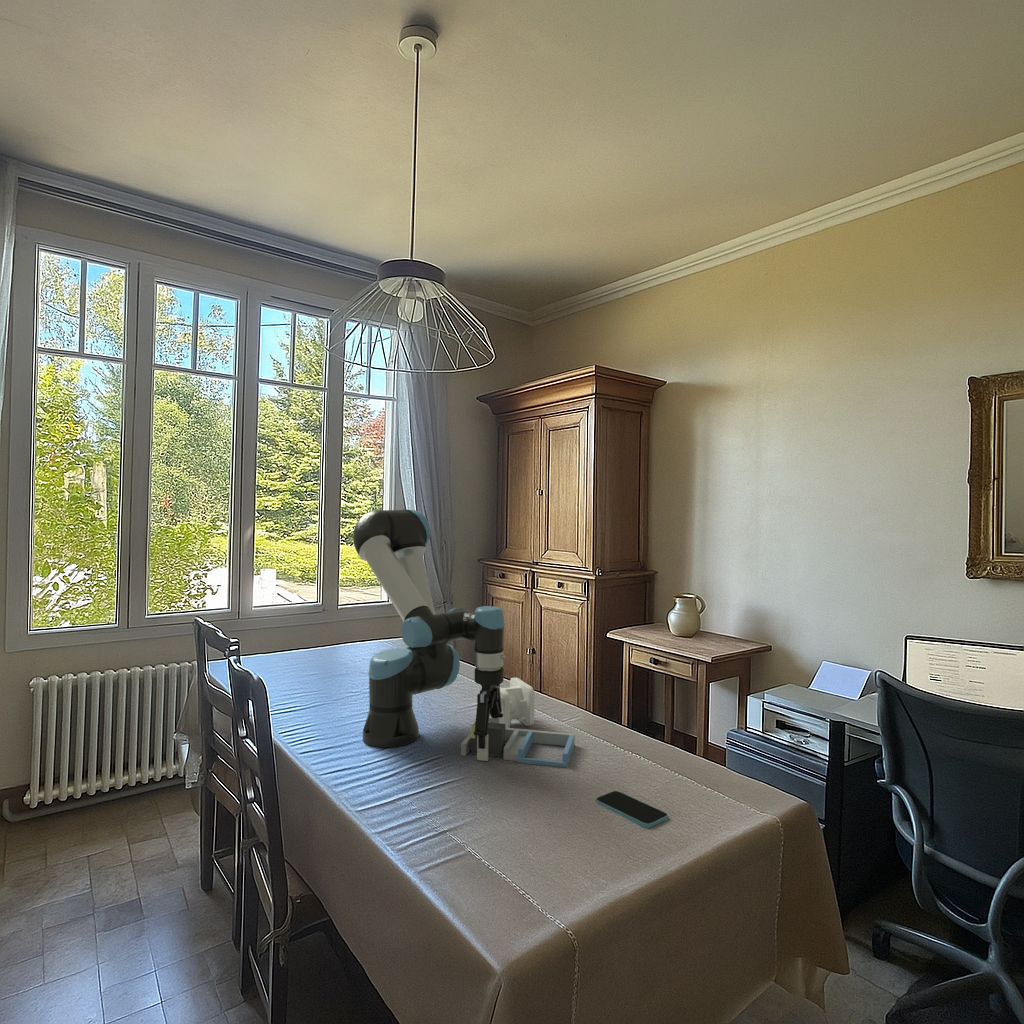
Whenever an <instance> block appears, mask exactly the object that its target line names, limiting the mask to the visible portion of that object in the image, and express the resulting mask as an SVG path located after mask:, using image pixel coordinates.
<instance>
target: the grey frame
mask: <svg viewBox="0 0 1024 1024" xmlns="http://www.w3.org/2000/svg"><path fill="white" fill-rule="evenodd" d="M575 737H576V736H575V733H571V732H568V733H567V732H556V731H547V730H536V729H527V728H526V729H525V728H514V727H510V728H505V741H507V742H505V746H504V753H503V760H505V761H512V762H513V761H515V762H517V763H521V764H528V765H529V764H532V765H540V766H549V767H550V766H551V767H558V768H559V767H561V768H568V765H569V762H570V759H571V756H572V754H573V751H574V749H575V745H576V744H575V741H576V740H575V739H576V738H575ZM533 744H542V745H555V746H564V749H563V752H562V760H561V761H559V760H551V759H542V758H541V759H539V758H531V757H527V755H528V753H529V751H530V749H531V746H532V745H533ZM470 750H472V738H471V731H469V733H468V734H467V736H466V737H465V739H463V741H462V742H461V744H460V756H467V754H468V753H469V752H470Z"/></svg>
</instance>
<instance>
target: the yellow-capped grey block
mask: <svg viewBox="0 0 1024 1024" xmlns="http://www.w3.org/2000/svg"><path fill="white" fill-rule="evenodd" d="M475 723H476V720H474V722H473V724H472V725H471V727H470V728H471V730H470V732H471V738H472V748H471V754H476V755H477V735H474V732H475ZM487 734H488V756H494V757H495V756H497V757H502V756H504V746H505V745H506V740H505V724H501V723H490V722H489V724H488V730H487Z"/></svg>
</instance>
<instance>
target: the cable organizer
mask: <svg viewBox="0 0 1024 1024" xmlns="http://www.w3.org/2000/svg"><path fill="white" fill-rule="evenodd" d="M500 696H501V707H502V712H501V713H502V714H503V717H502V718H500V717H498V718H500V723H501V724H505V728H511V727H510V726H512V720H519V723H523V725H525V727H530V726H533V725H534V724H535V704H536V701H535V700H536V699H535V696H536V695H535V691H534V688H533V686H531V685H529V684H527V682H524V681H523V680H522V679H520V678H519V677H517V676H516V677H511V678H510V681H509V687H501V686H500ZM489 718H492V717H491V716H490V717H489Z"/></svg>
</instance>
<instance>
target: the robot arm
mask: <svg viewBox="0 0 1024 1024" xmlns="http://www.w3.org/2000/svg"><path fill="white" fill-rule="evenodd" d="M352 532H353V533H352V541H353V542H352V543H353V546H354V548H355V549H354V550H355V551H356V553H357V554H358V556H359V558H360V559H361V560H362V561H365V562H366V563H367V564H368V565H369V567H370V569H371V571H372V572H373V574H374V575H375V577H376V579H377V580H378V582H379V583H380V585H381V587H382V589H383V591H384V592H385V593H386V595H387V597H388V598H389V600H390V602H391V604H392V605H393V607H394V608H395V610H396V612H397V613H398V615H399V617H400V618H401V620H402V624H401V627H400V629H401V630H400V633H401V636H402V641H403V643H404V644H405V645H406V648H405V647H397V648H389V649H384V650H381V651H379V652H377V653H375V654H374V655H373V656H372V657H371V659H370V661H369V668H368V678H369V679H368V680H369V681H368V685H369V686H368V688H369V689H368V690H369V691H368V692H369V693H368V695H369V696H368V698H369V706H368V708H369V710H368V713H367V717H366V720H365V722H364V726H363V730H362V741H363V742H364V743H365V744H366V745H368V746H371V747H375V748H398V747H403V746H406V745H409V744H412V743H413V742H415V741H416V740H418V739H419V736H420V731H419V730H420V728H419V723H418V721H417V719H416V718H417V717H416V715H415V712H414V708H413V696H414V695H417V694H422V693H426V692H430V691H434V690H440V689H442V688H445V687H447V686H450V685H452V684H453V683H454V682H455V681H456V679H457V678H458V675H459V672H460V666H461V665H460V664H461V663H460V656H459V653H458V652H457V649H455V647H454V646H453V645H451V644H448V642H454V641H459V640H468V641H471V642H474V658H473V659H474V663H473V664H474V667H475V668H474V682H475V684H477V685H479V686H481V689H480V690H479V693H477V696H476V697H477V698H476V700H477V701H476V703H477V704H476V714H475V721H476V723H475V722H474V723H475V732H474V735H477V754H476V760H477V761H484V762H485V761H486V762H488V761H489V755H488V734H487V730H488V724H489V722H490V723H500V718H502V717H503V714H502V713H501V712H502V707H501V696H500V687H501V686H500V685H501V684H502V683H503V682H504V677H505V676H504V675H505V674H504V668H503V666H504V660H505V659H506V658H507V657H506V655H505V654H504V647H505V646H504V643H505V642H504V640H505V638H504V636H505V635H504V632H505V621H504V620H505V619H504V611H503V609H502V608H501V607H499V606H492V605H483V606H477V607H476V608H475V611H472V610H468V609H466V608H460V607H459V608H455V607H454V608H453V607H452V608H450V609H448V610H447V611H446V612H443V613H437V614H436V610H435V606H434V603H433V597H432V593H431V588H430V583H429V580H428V575H427V571H426V566H425V561H424V557H423V555H424V554H425V552H426V550H427V545H428V543H429V541H430V539H431V537H430V536H431V527H430V524H429V520H428V519H427V518H426V515H424V514H423V513H422V512H420V511H419V510H416V509H415V510H414V509H408V508H407V509H406V508H405V509H403V508H402V509H387V510H385V509H383V510H381V509H375V510H370V511H367V512H366V513H365V514H363V515H362V516H361V517H360V518H359V519H358V520H357V522H356V524H355V526H354V529H353V531H352ZM490 716H491V717H492V718H489V717H490ZM498 717H500V718H498Z"/></svg>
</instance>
